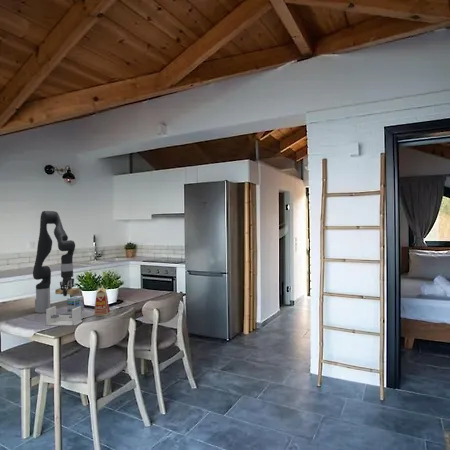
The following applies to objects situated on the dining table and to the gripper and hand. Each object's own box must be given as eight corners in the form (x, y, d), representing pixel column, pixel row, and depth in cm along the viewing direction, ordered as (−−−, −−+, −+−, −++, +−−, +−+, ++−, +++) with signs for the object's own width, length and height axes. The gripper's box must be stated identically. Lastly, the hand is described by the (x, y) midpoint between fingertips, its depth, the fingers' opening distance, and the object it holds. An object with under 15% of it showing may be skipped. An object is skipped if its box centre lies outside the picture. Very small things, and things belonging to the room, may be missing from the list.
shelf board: (55, 294, 237) (55, 289, 236) (59, 292, 241) (59, 288, 241) (75, 294, 235) (75, 290, 235) (79, 292, 240) (79, 288, 240)
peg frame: (45, 325, 225) (45, 309, 225) (53, 321, 234) (53, 306, 234) (75, 325, 223) (74, 309, 223) (82, 321, 232) (82, 306, 232)
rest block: (59, 319, 237) (59, 313, 237) (62, 318, 240) (62, 312, 240) (74, 319, 236) (73, 313, 236) (76, 318, 239) (76, 312, 239)
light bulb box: (75, 313, 252) (75, 298, 252) (66, 313, 253) (66, 298, 253) (84, 310, 262) (83, 295, 262) (76, 309, 264) (75, 295, 264)
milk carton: (97, 312, 254) (96, 285, 254) (110, 312, 255) (109, 284, 254) (93, 316, 245) (93, 287, 244) (107, 315, 245) (106, 286, 245)
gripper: (67, 268, 246) (67, 292, 246) (55, 271, 231) (56, 297, 232) (77, 268, 245) (78, 293, 245) (66, 271, 230) (66, 297, 231)
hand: (67, 295), depth 238 cm, fingers closed on shelf board, 5 cm apart
